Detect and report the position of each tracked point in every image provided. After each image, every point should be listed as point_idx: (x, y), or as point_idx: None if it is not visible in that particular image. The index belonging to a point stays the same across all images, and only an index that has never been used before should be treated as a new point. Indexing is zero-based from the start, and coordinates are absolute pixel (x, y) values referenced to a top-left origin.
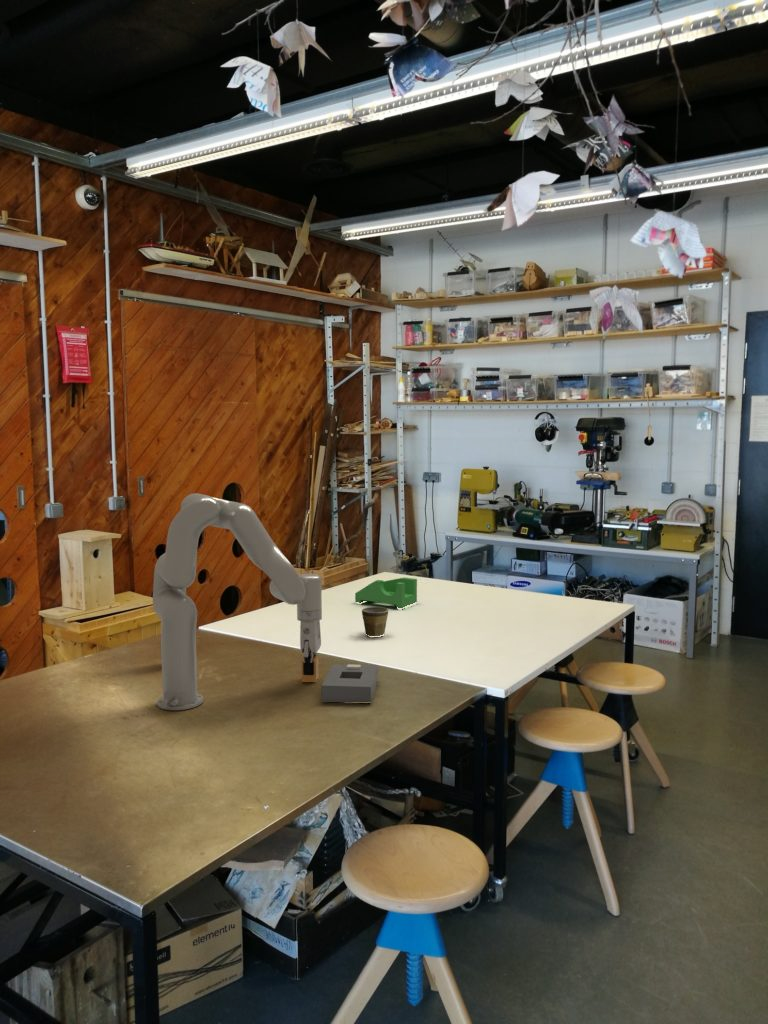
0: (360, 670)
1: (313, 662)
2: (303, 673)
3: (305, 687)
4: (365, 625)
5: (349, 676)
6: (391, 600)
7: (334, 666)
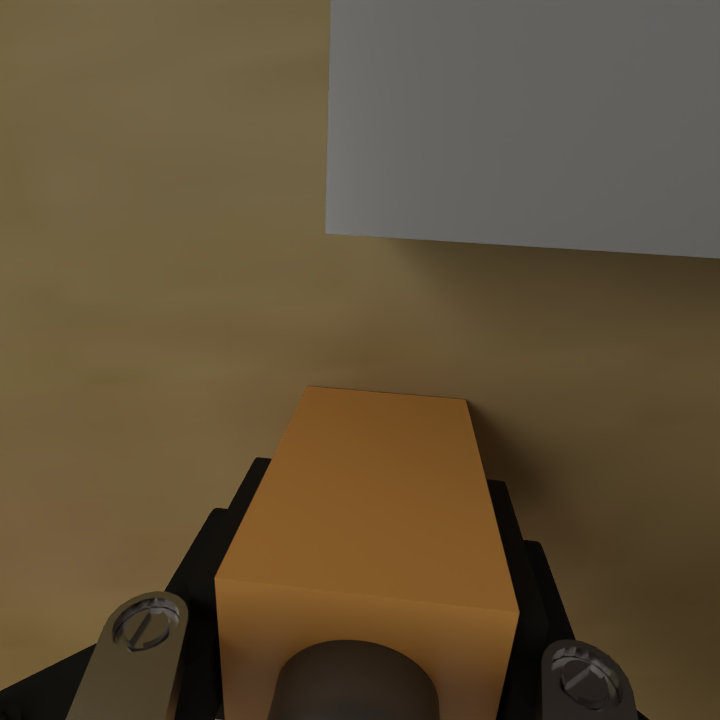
0: None
1: (542, 623)
2: None
3: (608, 488)
4: None
5: None
6: None
7: (485, 181)
